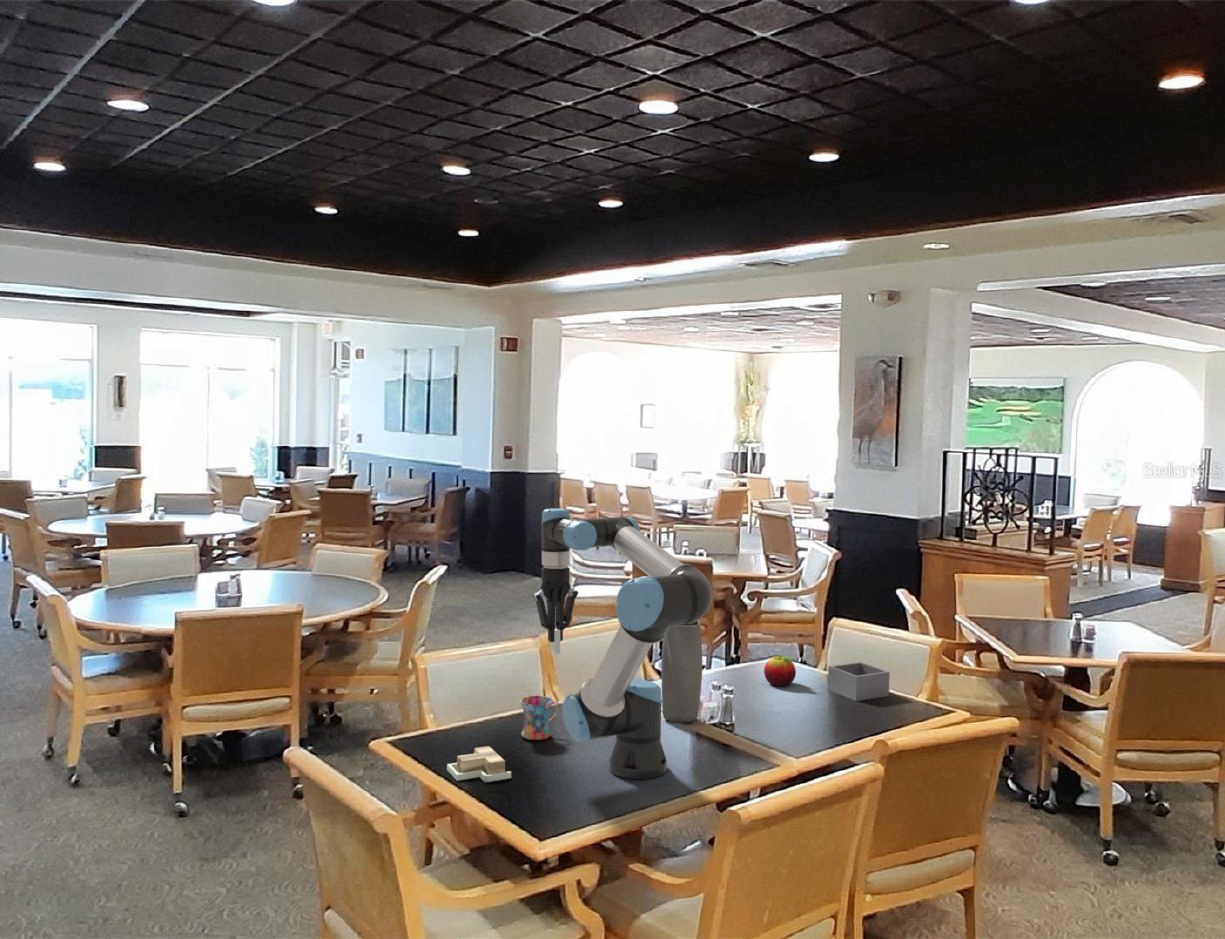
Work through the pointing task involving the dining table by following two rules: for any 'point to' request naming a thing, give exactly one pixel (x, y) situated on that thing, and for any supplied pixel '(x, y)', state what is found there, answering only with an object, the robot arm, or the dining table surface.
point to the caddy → (858, 681)
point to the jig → (476, 774)
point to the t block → (481, 761)
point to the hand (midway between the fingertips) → (555, 653)
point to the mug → (537, 717)
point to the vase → (681, 672)
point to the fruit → (780, 671)
